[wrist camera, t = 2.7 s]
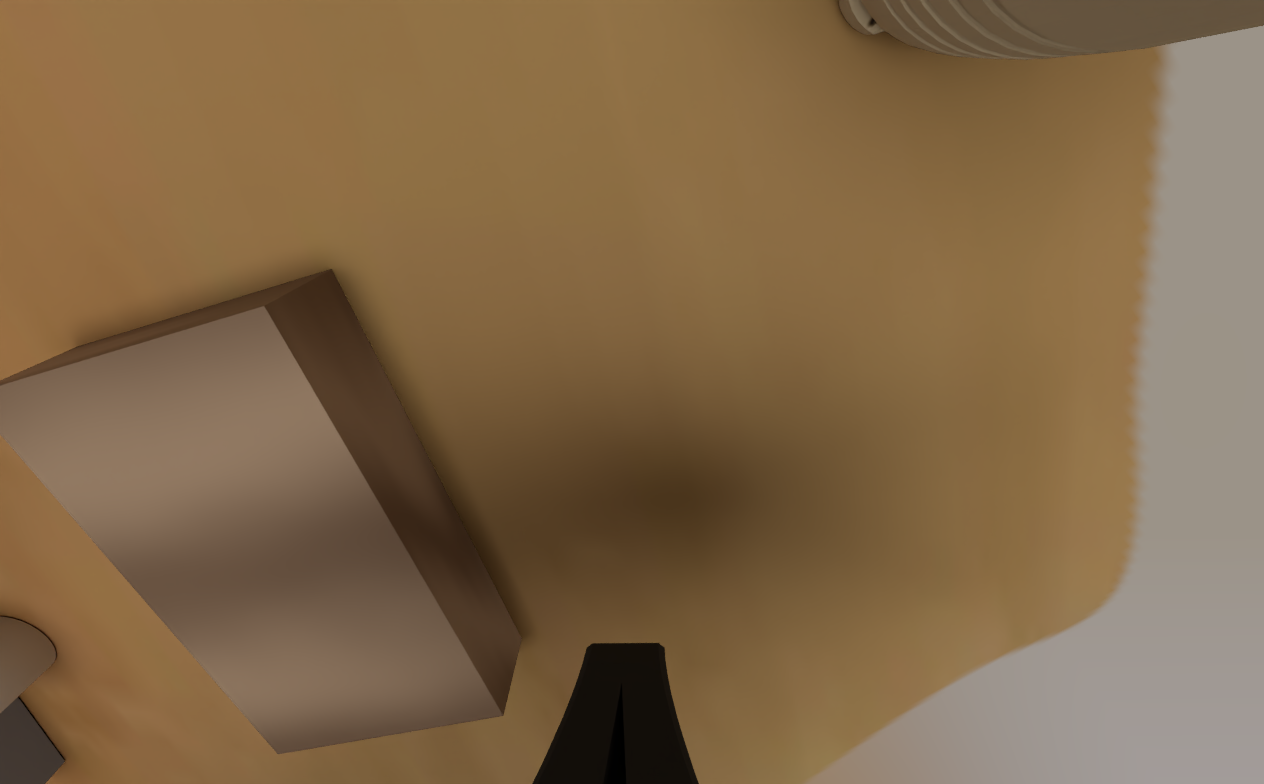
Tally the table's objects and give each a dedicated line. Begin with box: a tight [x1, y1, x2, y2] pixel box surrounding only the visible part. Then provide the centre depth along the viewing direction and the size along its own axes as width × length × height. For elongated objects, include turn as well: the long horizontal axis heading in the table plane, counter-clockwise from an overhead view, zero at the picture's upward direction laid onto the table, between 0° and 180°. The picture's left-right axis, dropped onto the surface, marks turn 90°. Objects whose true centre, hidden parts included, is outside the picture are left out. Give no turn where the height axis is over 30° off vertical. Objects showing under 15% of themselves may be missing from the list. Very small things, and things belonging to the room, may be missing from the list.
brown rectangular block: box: [0, 269, 522, 754], centre depth 16 cm, size 12×7×3 cm, turn 16°
